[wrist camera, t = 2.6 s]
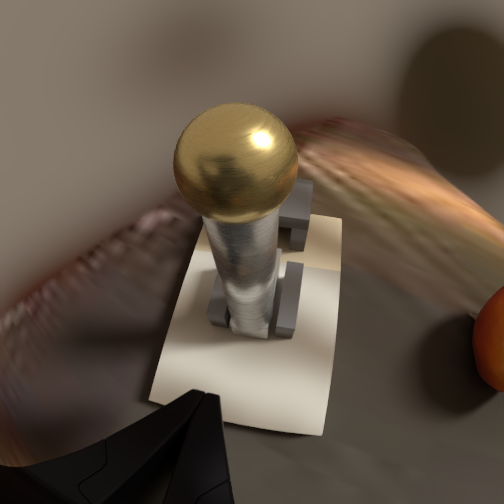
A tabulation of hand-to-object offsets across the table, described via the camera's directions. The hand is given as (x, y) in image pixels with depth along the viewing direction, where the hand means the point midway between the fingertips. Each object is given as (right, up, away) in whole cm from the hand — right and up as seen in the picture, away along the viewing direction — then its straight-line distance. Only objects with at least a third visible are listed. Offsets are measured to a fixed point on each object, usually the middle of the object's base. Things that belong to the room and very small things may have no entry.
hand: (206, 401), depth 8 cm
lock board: (+2, +1, +11) cm, 11 cm away
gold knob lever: (+2, +1, +10) cm, 10 cm away
